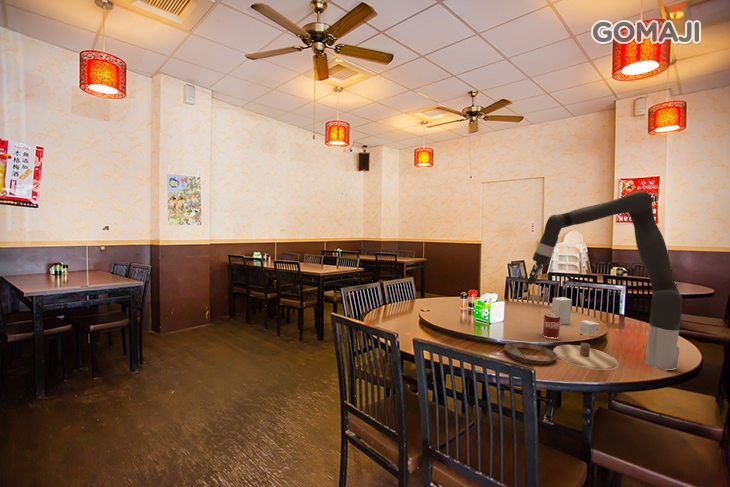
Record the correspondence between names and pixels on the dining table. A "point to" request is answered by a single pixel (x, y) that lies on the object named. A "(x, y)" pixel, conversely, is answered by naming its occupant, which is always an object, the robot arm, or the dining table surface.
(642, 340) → the dining table surface
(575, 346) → the lid
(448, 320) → the dining table surface
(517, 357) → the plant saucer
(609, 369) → the disc
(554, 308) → the skincare box
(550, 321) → the soda can
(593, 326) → the skincare box
